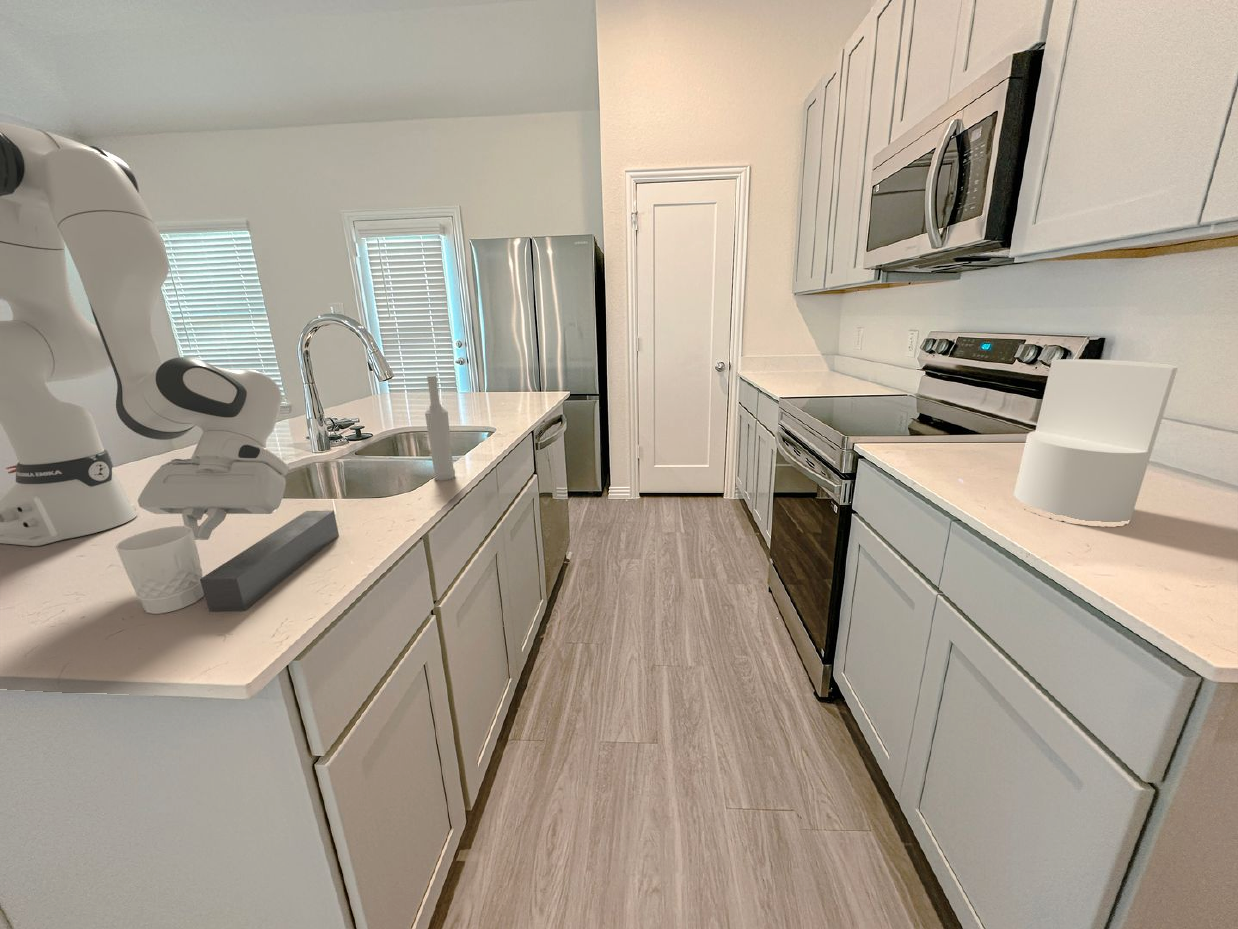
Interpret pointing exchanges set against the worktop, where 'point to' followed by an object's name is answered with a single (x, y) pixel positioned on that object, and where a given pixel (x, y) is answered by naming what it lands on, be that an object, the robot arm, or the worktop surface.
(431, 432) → the bottle
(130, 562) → the white cup
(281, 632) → the worktop surface
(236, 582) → the long dark grey beam
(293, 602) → the worktop surface
